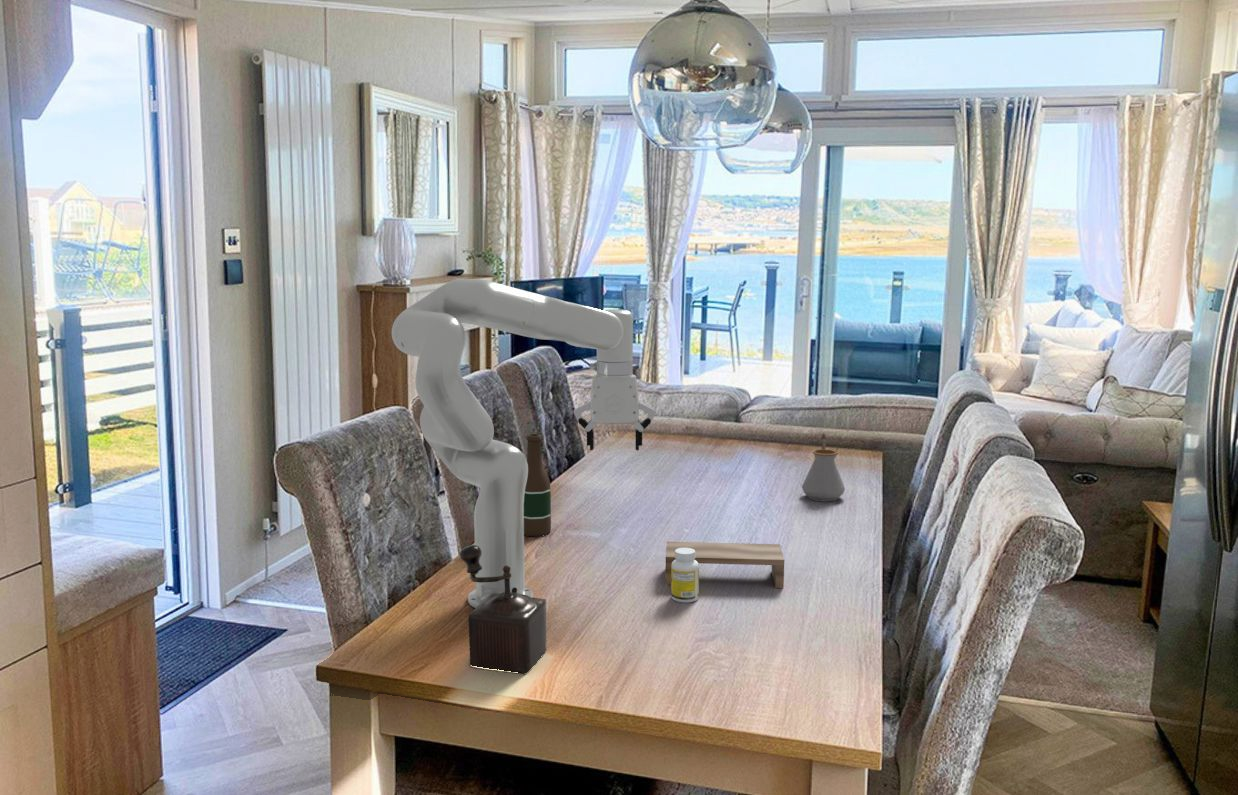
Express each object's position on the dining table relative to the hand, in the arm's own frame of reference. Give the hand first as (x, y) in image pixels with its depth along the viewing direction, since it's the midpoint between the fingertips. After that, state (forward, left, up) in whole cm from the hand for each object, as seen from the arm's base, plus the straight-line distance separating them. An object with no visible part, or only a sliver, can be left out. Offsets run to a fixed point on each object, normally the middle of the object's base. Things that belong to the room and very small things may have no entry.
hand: (614, 448), depth 207 cm
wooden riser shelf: (-6, -23, -26) cm, 35 cm away
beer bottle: (+22, +21, -26) cm, 40 cm away
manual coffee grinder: (-47, +17, -26) cm, 56 cm away
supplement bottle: (-18, -15, -26) cm, 35 cm away
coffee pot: (+64, -53, -26) cm, 87 cm away
